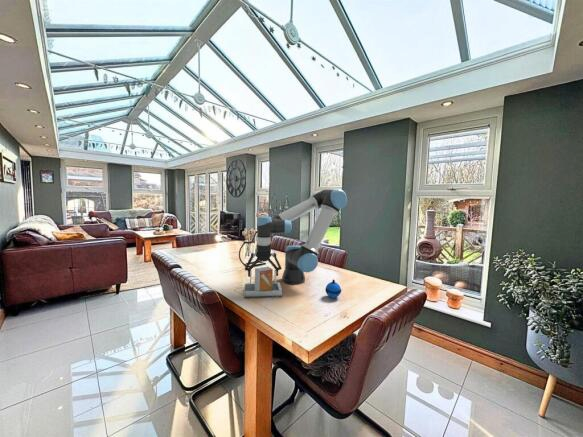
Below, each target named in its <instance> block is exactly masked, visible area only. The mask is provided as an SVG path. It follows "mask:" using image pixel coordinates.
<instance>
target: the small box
mask: <svg viewBox="0 0 583 437" xmlns="http://www.w3.org/2000/svg"><path fill="white" fill-rule="evenodd" d="M273 271H274V270H273V269H272V268H271V267H270V266H262V267H256V268H254V283H255V291H272V283H273V276H274V275H273V273H274V272H273Z"/></svg>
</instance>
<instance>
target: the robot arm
mask: <svg viewBox="0 0 583 437" xmlns="http://www.w3.org/2000/svg"><path fill="white" fill-rule="evenodd" d="M347 204H348V197H347V194H346V192H345V191H344V190H343V189H340V188H339V189H338V188H334V189H333V188H332V189H322V190H321V191H318V192H317V193H314V194H313V195H311V196H309V198H308V199H306V200H304V201H302V202H300V203H298V204H297V205H294V206H292V207H290V208H288V209H286V210H284V211H283V212H280V213H278V214H276V215H275V216H268V215H267V216H265V215H264V216H263V215H261V216H258V217H257V222H256V232H257V234H256V244H257V245H256V253H255V252H251V253H250V257H249V259H248V261H247V263H246V265H245V267H244V271H247V276H248V278H249V283H252V275H253V274H252V270H253V268H254V267H255V266H256V265H257V264H258V263H259V262H268V263H269V264H271V266H272V267H273V268H274V270H273V271H274V272H273V273H274V275H273V276H274V277H273V278H274V279H273V281H274V282H273V283H277V277H278V276H279V271H280V270H282V267H281V266H282V265H281V263H280V261H279V260H278V258H277V254H276V252H273V253H271V243H272V241H271V240H272V236H271V235H272V234H290V233H291V231H292V228H293V224H292V222H293V221H295V220H297V219H298V218H300V217H303V216H304V215H306V214H308V213H309V212H312V211H314V210H315V211H317V210H319V209H321V210H320V212H319V214H318V216H317V218H316V220H315V223H314V224H313V226H312V228H311V230H310V232H309V234H308V236H307V239H306V241H305V243H303V244H301V245H297V244H296V245H287V246H286V247H285V250H284V252H285V253H284V254H285V255H284V270H283V273H282V276H281V282H283V283H285V284H287V285H288V284H289V285H301V284H303V283H305V282H306V275H305V273H311V272H313V271H315V269H317V267H318V265H319V259H318V256H319V254H320V253H319V249H320V246H321V244H322V242H323V240H324V239H325V236H326V234H327V231H328V229H329V228H330V224H331V223H332V221H333V219H334V218H335V217H334V216H336V215H338V214H339V212H340V211H341V209H343V208H345V207H346V206H347ZM255 257H256V259H255V260H254V261H253V259H254V258H255ZM271 257H273V258H274V260H275V262H276V264H277V265H276V264H275V262H273V261H272V259H271ZM252 261H253V263H252V264H251V262H252Z"/></svg>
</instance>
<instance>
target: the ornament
mask: <svg viewBox="0 0 583 437" xmlns="http://www.w3.org/2000/svg"><path fill="white" fill-rule="evenodd" d="M325 292H326V296H328V297H329V298H332V299H335V298H338V297H339V296H340V295H341V293H342V288H341V285H340V284H339V283H337V282H336V280H335V279H332V281H331V282H328V283H327V285H326V287H325Z"/></svg>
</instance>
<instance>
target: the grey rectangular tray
mask: <svg viewBox="0 0 583 437" xmlns="http://www.w3.org/2000/svg"><path fill="white" fill-rule="evenodd" d="M243 293H244V294H243V295H244V298H243V299H263V298H264V299H266V298H267V299H268V298H282V296H283V289H282V286H281V283H280V282H279V281H278V282H277V281H276V282H272V291H255V282H253V283H252V282H251V283H250V282H249V283H244V291H243Z"/></svg>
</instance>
